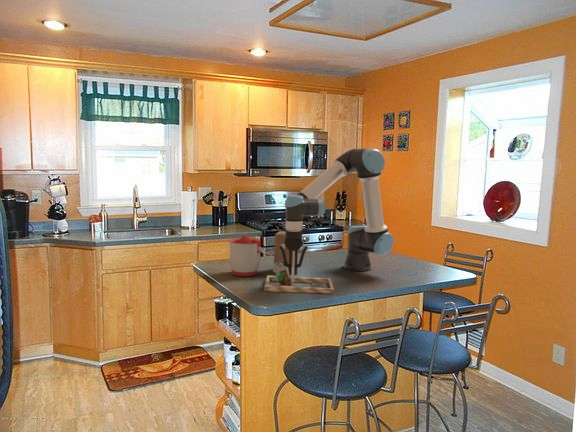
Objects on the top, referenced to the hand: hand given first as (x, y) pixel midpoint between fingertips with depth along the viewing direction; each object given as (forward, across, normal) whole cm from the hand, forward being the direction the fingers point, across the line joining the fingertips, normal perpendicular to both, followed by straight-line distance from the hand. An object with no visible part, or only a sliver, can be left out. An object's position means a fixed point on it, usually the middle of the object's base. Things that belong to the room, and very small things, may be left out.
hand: (292, 281), depth 202 cm
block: (+2, +4, -28) cm, 29 cm away
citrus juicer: (+2, +23, -20) cm, 30 cm away
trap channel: (+2, -3, 0) cm, 4 cm away
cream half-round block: (+2, +3, 0) cm, 4 cm away
